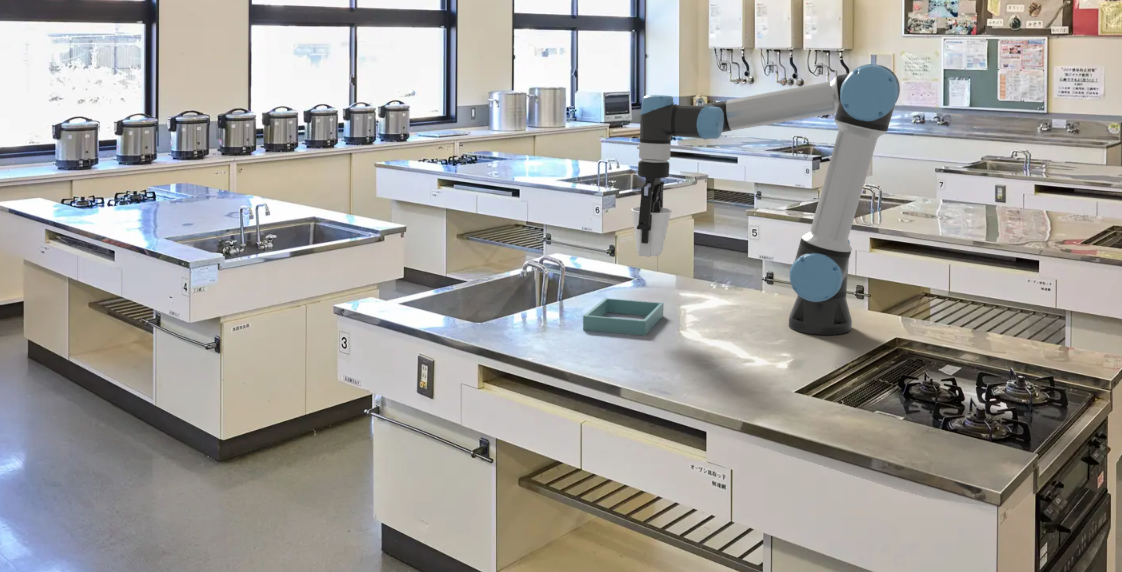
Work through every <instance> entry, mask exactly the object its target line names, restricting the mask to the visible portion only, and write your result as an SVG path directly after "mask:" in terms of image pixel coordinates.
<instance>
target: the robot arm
mask: <svg viewBox="0 0 1122 572" xmlns="http://www.w3.org/2000/svg"><path fill="white" fill-rule="evenodd" d="M900 91H901V85H900V81H899V79H898V77H897V76H896V74H895V73H894V72H893V71H892V70H891V68H888V67H886V66H884V65H880V64H872V63H869V64H863V65H860V66H858V67H855V68H854V69H853V70H852V71H850V72H848V73H844V74H839V75H835V77H833V79H832V80H830V81H824V82H820V83H814V84H809V85H803V86H798V87H792V88H787V89H781V90H776V91H769V92H764V93H758V94H754V95H748V96H743V97H736V98H731V99H727V100H721V101H715V102H708V103H704V104H699V105H692V104H691V105H686V104H683V105H682V104H677V103H676V104H675V102H674V97H673V96H671V95H663V94H662V95H660V94H646V95H644V96H643V97H642V100H641V109H640V114H639V116H640V119H639V120H640V125H639V128H640V129H639V143H638V145H637V146H636V148H637V150H639V151H638V158H639V159H640V160H639V161H638V162H637V165H638V166H637V176H639V177H640V178H645V183H644V184H643V185H642V186H641V187H640V204H639V205H640V206H639V207H640V213H639V224H638V226H637V229H640V246H639V254H638V256H639V257H647V258H650V257H652V256H651V240H652V230H651V224H652V214H651V213H660V207H661V208H664V185H665V182H664V181H663V180H661V179H666V178H668V177H669V176H670V165H671V164H670V162H669V160H670V159H671V150H672V149H671V146H672V145H671V144H672V137H675V138H679V137H680V138H691V139H694V138H695V139H703V140H717V139H719V138H721V135H722V133H726V132H727V133H728V132H731V131H737V130H738V131H739V130H743V129H750V128H755V127H761V126H767V125H768V126H769V125H774V124H779V123H785V122H790V121H791V122H793V121H799V120H804V119H808V118H810V119H811V118H815V117H821V116H827V115H833V114H835V117H834V121H833V122H835V125H837V128H838V131H837V135H836V138H835V142H834V146H833V149H832V153H831V156H830V160H829V163H828V167H827V169H826V175H825V178H824V181H823V184H822V187H821V192H820V196H819V198H818V203H817V206H816V210H815V213H814V216H813V220H812V223H811V227H810V230H809V231H808V232H806V233H804V234H803V235H802V236H801V238H800V242H799V244H798V248H797V251H796V255H795V259H794V261H793V263H792V264H791V266H790V270H789V283H790V285H791V287H792V290H793V291H794V293H796V295H797V297H796V298H795V301H794V304H793V306H792V308H791V312H790V314H789V315H788V316H789V317H788V327H789V328H790V329H792V330H794V331H797V332H800V333H805V334H810V335H820V336H821V335H823V336H836V335H837V334H838V335H843V333H844V334H847V333H846V332H848V333H849V331H850V330H851V331H852V324H853V323H852V322H853V320H852V315H851V312H850V309H849V305H848V302H847V301H848V300H847V291H848V279H849V278H848V277H849V264H850V263H849V262H850V257H851V253H852V251H853V249H852V246H851V243H850V240H849V236H850V233H851V231H852V226H853V222H854V219H855V216H856V213H857V209H858V206H859V202H860V199H861V195H862V194H863V193H862V192H863V189H864V186H865V181H866V179H867V175H868V171H869V169H870V165H871V162H872V160H873V156H874V151H875V148H876V146H877V141H878V139H879V138H880V137H881V136H882V135H885V134H886V133H888V129H889V126H890V123H891V120H892V116H893V113H894V109H895V107H896V104H897V102H898V100H899V98H900ZM645 223H646V224H645ZM851 331H850V332H851Z"/></svg>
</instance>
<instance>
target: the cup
mask: <svg viewBox="0 0 1122 572" xmlns="http://www.w3.org/2000/svg"><path fill="white" fill-rule="evenodd" d="M630 211H631V213H632V214H631V215H632V221H633V228H634V237H635V238H634V239H635V248H636V249H635V250H636V253H637V254H638V255H639V246H640V229H637V226H638V224H639V213H640V206H636V207H632V208H631V210H630ZM672 212H673V211H672V209H670V208H665V207H663V208H661V207H660V213H651V214H652V224H651V230H652V240H651V256H650V257H658V256H660V255H661V254H662V253H663V249H664V244H665V240H666V235H667V232H668V231H667V230H668V226H669V222H670V218H671V214H672ZM645 224H646V223H645Z"/></svg>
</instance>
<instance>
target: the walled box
mask: <svg viewBox="0 0 1122 572" xmlns="http://www.w3.org/2000/svg"><path fill="white" fill-rule="evenodd" d="M664 306H665V305H664V302H658V301H656V302H655V301H642V300H632V299H620V298H619V299H618V298H608V297H607V298H606V297H605V298H604V299H602V300H601V301H600V302H599V303H598V304H596V305H594V306H593V307H592V308H591V309H590V310H589V311H587V312H586V313H585V314H584V315H583V316H582V317H583V318H582V330H584V331H592V332H593V331H594V332H604V333H613V334H614V333H617V334H622V335H623V334H626V335H636V336H647V334H648V333H649V332H650V331H651V330H652V329H653V327H655V326H656V324H658V322H659V321H660V320H661V319H662V318H663V317H664ZM607 313H612V314H613V313H615V314H624V315H625V314H626V315H637V316H645V317H644V319H643V320H642V319H631V318H620V317H608V316H605V314H607Z"/></svg>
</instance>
